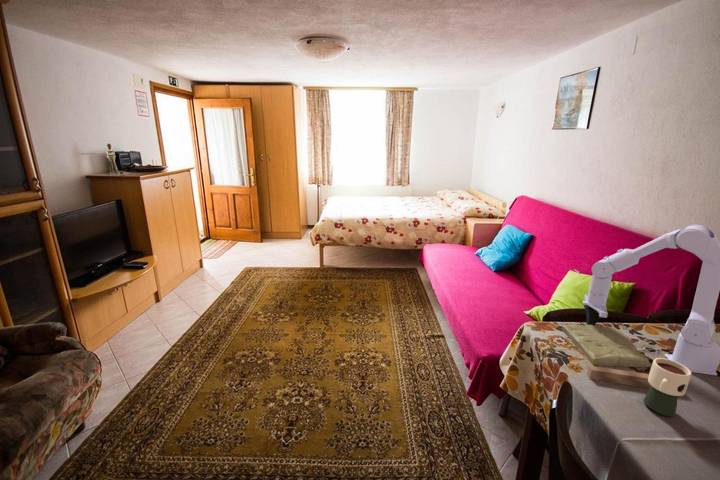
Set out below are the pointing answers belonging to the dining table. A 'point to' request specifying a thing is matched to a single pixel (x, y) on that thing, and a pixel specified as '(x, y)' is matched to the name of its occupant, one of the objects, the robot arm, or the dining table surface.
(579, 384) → the dining table surface
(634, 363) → the decorative tile
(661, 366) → the character mug
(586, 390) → the dining table surface
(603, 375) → the rail
